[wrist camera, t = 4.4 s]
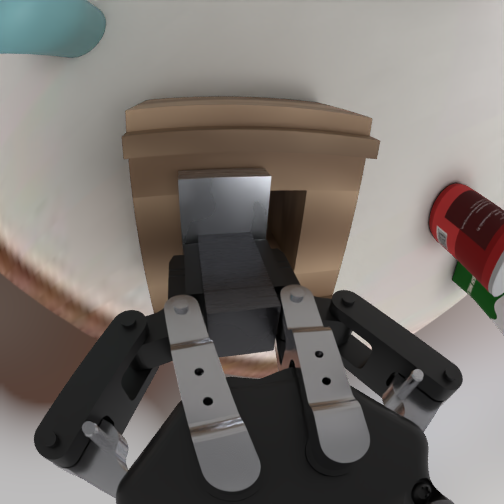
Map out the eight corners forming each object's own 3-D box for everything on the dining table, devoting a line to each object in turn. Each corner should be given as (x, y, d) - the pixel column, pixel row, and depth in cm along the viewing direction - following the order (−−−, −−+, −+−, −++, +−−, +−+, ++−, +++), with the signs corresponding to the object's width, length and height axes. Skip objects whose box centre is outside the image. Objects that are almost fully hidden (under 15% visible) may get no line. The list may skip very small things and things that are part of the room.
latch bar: (178, 171, 12) (174, 243, 7) (264, 168, 13) (316, 234, 8) (189, 301, 17) (197, 392, 12) (254, 295, 18) (282, 381, 13)
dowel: (55, 14, 10) (-15, -8, 3) (107, 0, 11) (57, -43, 4) (53, 63, 13) (-25, 66, 5) (104, 50, 13) (44, 35, 6)
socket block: (146, 100, 16) (120, 113, 10) (318, 102, 19) (383, 122, 12) (162, 271, 24) (159, 345, 17) (296, 260, 26) (331, 324, 20)
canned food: (450, 243, 31) (505, 297, 22) (416, 233, 28) (481, 297, 19) (476, 192, 27) (539, 239, 18) (445, 171, 24) (523, 224, 15)
